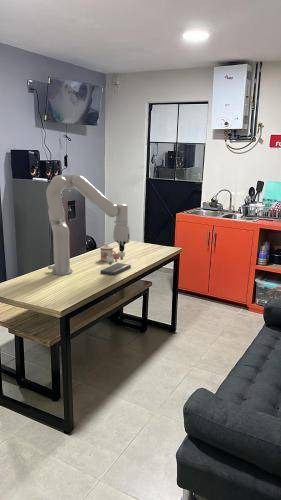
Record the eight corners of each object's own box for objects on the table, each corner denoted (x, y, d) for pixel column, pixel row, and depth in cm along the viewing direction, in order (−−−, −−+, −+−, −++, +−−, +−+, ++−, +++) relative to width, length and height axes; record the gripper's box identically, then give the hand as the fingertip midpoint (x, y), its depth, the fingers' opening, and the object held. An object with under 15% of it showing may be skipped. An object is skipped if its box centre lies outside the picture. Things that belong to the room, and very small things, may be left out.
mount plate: (114, 275, 234) (114, 272, 233) (100, 273, 238) (100, 270, 238) (130, 267, 252) (130, 264, 251) (117, 265, 256) (117, 262, 256)
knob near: (111, 265, 235) (111, 257, 234) (105, 264, 237) (105, 256, 236) (115, 264, 239) (115, 255, 237) (109, 263, 241) (109, 254, 239)
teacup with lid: (97, 260, 269) (97, 244, 267) (104, 257, 277) (104, 241, 274) (112, 262, 264) (112, 246, 261) (119, 259, 272) (119, 243, 269)
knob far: (122, 260, 247) (122, 252, 246) (117, 259, 249) (117, 251, 248) (126, 259, 251) (126, 251, 249) (120, 258, 253) (120, 250, 251)
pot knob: (117, 263, 241) (117, 254, 240) (111, 262, 243) (111, 254, 242) (120, 261, 245) (120, 253, 243) (114, 260, 247) (114, 252, 245)
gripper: (108, 223, 244) (109, 250, 249) (128, 225, 238) (128, 253, 242) (114, 221, 251) (115, 248, 255) (134, 223, 244) (134, 251, 248)
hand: (121, 250), depth 248 cm, fingers closed
